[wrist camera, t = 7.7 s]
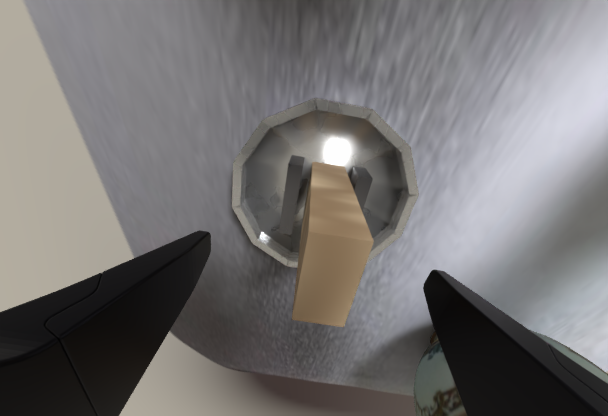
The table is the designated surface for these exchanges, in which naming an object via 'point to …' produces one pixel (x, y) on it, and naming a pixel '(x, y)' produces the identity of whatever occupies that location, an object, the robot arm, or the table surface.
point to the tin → (330, 150)
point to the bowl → (442, 390)
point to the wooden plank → (330, 248)
